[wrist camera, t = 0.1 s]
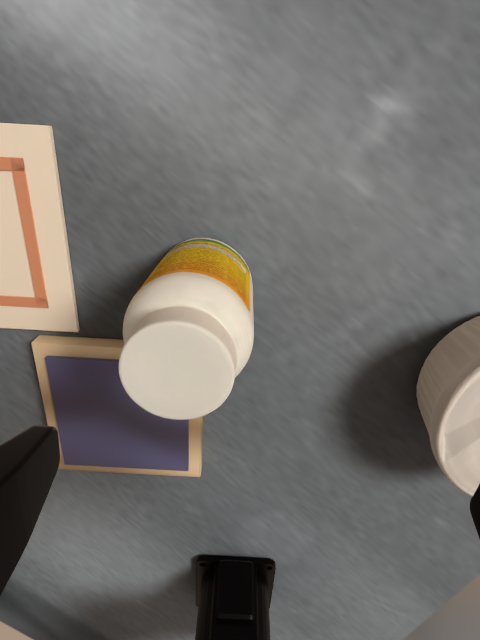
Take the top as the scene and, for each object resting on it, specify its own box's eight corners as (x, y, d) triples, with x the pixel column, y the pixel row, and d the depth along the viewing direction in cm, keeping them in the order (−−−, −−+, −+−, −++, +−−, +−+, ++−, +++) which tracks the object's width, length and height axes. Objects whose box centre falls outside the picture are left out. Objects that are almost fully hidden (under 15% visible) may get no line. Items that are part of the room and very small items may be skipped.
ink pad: (201, 465, 28) (199, 480, 26) (62, 458, 28) (54, 472, 26) (203, 344, 23) (201, 355, 22) (39, 334, 23) (28, 345, 22)
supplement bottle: (258, 317, 23) (265, 428, 14) (170, 330, 23) (124, 445, 14) (243, 227, 20) (241, 291, 12) (146, 243, 21) (75, 316, 12)
